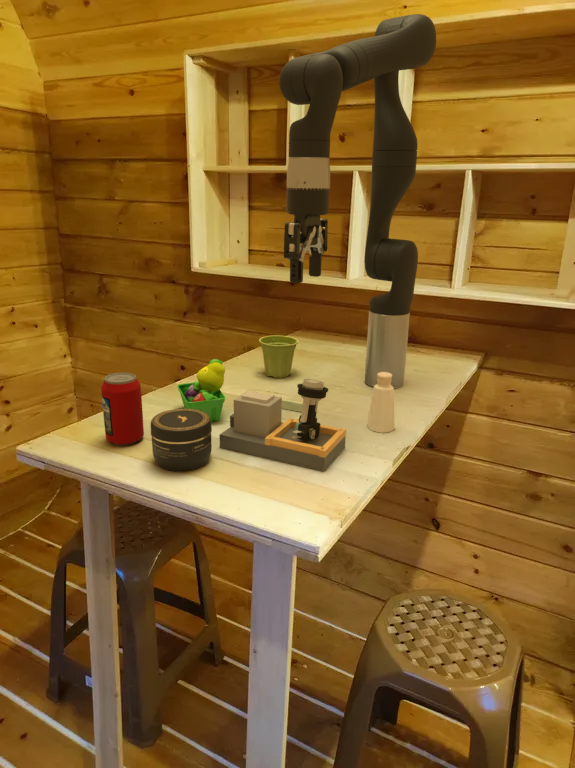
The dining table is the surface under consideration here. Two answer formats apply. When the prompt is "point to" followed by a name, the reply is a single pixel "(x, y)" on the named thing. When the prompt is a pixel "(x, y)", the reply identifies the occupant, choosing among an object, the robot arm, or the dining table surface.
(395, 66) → the robot arm
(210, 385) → the fruit basket
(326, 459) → the gray stepped base block
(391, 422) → the pepper shaker
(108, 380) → the beverage can
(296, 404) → the parts tray
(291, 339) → the plant pot
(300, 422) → the black and tan cylinder
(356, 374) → the dining table surface
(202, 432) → the jar
